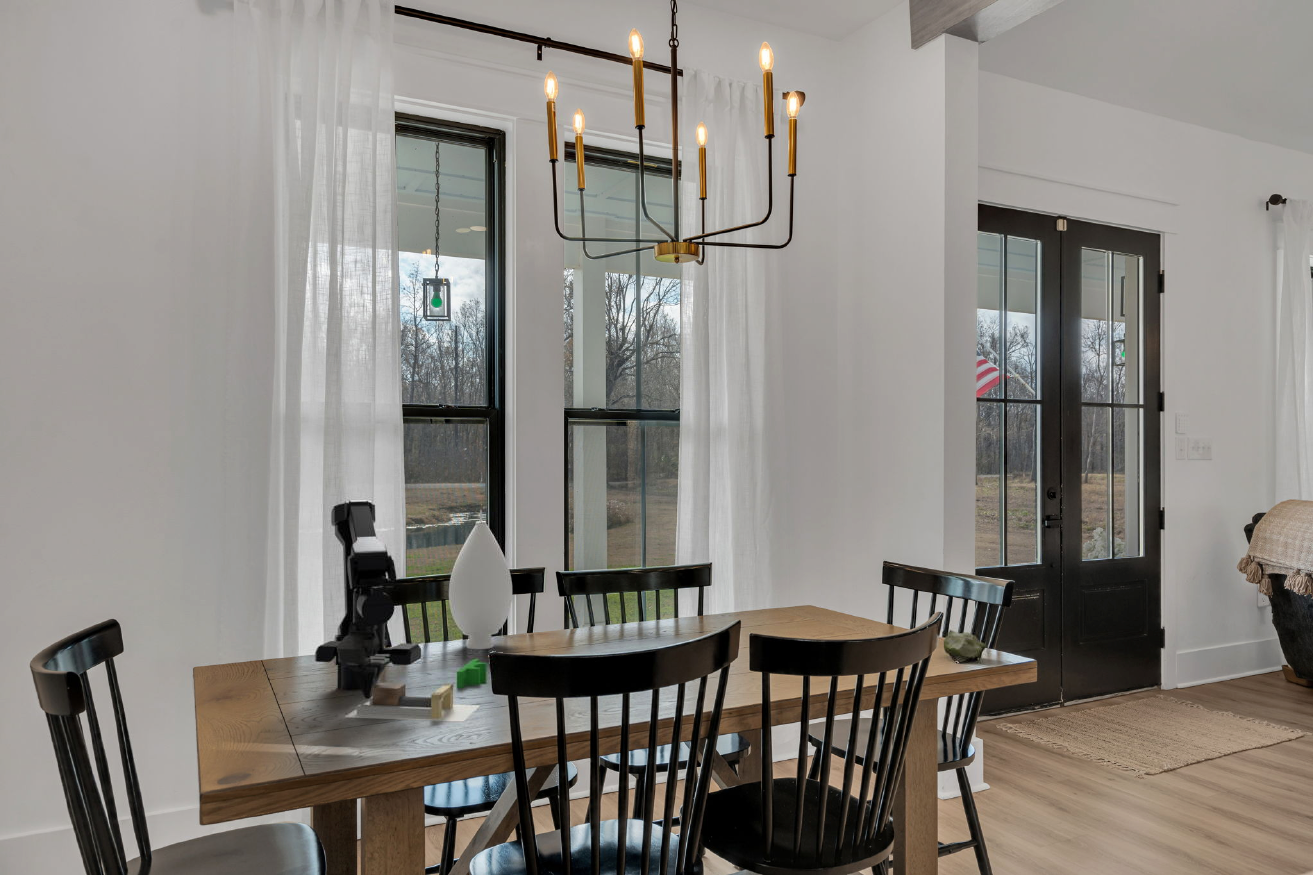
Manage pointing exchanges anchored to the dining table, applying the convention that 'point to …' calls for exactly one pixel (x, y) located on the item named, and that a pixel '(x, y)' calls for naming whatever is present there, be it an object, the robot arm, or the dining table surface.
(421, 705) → the rod
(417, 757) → the dining table surface
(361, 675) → the robot arm
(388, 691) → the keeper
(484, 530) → the lamp
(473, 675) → the pipe clamp
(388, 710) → the channel board
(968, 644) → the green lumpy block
